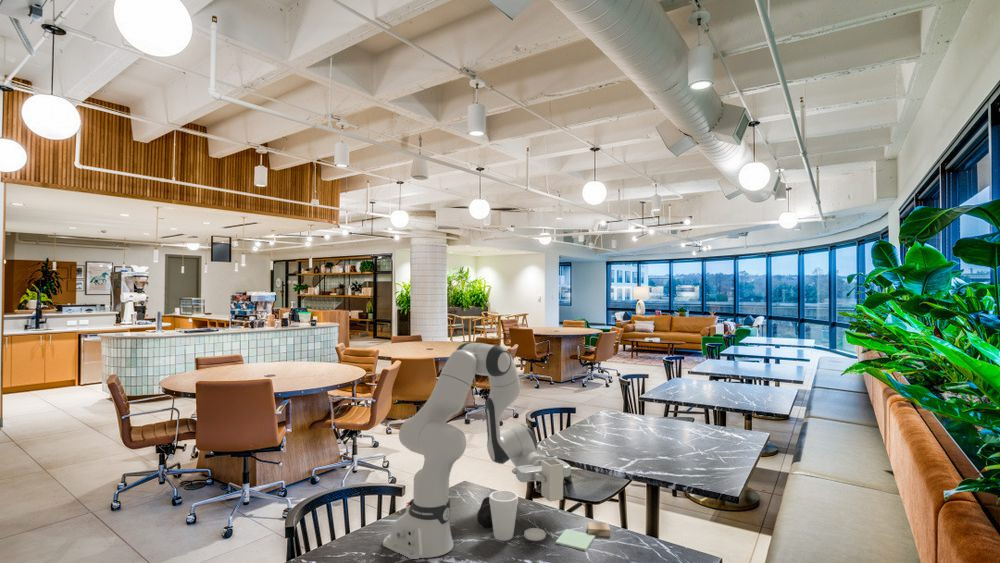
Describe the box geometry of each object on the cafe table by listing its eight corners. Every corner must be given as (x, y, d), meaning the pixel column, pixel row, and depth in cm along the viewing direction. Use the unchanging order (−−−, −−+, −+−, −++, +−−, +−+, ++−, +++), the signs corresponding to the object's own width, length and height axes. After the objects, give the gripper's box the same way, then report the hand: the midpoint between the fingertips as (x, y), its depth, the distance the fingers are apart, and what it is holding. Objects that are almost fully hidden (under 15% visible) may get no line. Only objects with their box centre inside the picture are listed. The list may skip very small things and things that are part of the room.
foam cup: (515, 544, 158) (515, 502, 159) (486, 541, 160) (486, 500, 160) (519, 530, 167) (519, 491, 168) (492, 528, 169) (493, 489, 170)
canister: (541, 495, 175) (541, 460, 175) (554, 493, 177) (554, 458, 177) (549, 501, 169) (549, 465, 170) (562, 499, 171) (563, 463, 172)
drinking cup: (489, 488, 184) (489, 506, 164) (503, 505, 183) (504, 525, 163) (473, 502, 183) (471, 522, 163) (486, 519, 183) (486, 540, 163)
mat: (555, 543, 159) (555, 541, 159) (566, 530, 167) (566, 528, 167) (585, 551, 154) (585, 549, 154) (595, 537, 163) (595, 535, 163)
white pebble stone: (520, 538, 162) (520, 535, 162) (529, 530, 169) (529, 526, 169) (540, 543, 159) (540, 539, 159) (548, 534, 165) (548, 530, 166)
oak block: (588, 536, 164) (588, 528, 164) (587, 529, 169) (587, 522, 169) (610, 537, 164) (610, 529, 164) (608, 530, 169) (608, 523, 169)
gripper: (510, 461, 181) (526, 473, 169) (559, 455, 189) (578, 466, 176) (509, 478, 181) (526, 492, 168) (559, 472, 189) (578, 484, 176)
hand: (553, 478), depth 172 cm, fingers closed on canister, 5 cm apart
